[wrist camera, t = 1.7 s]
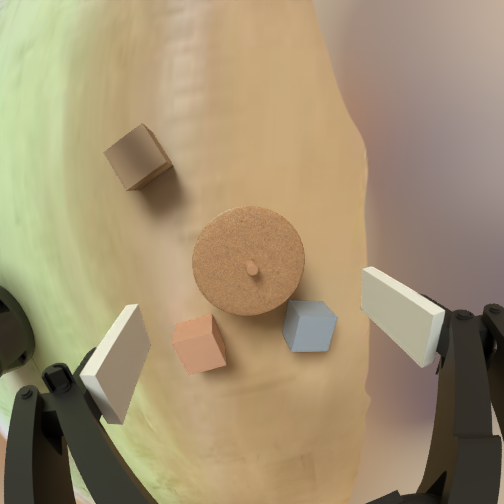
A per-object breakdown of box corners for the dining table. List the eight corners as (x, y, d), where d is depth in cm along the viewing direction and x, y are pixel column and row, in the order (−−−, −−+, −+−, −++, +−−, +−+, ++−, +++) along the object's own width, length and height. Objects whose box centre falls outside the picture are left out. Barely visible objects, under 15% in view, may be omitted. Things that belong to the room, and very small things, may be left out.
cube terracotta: (190, 353, 35) (188, 375, 31) (176, 323, 34) (171, 343, 29) (224, 343, 36) (226, 365, 31) (211, 313, 34) (211, 332, 30)
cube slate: (281, 332, 37) (291, 351, 32) (288, 299, 35) (299, 316, 31) (314, 332, 37) (327, 351, 33) (322, 301, 36) (337, 317, 31)
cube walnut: (139, 190, 30) (126, 190, 25) (118, 156, 28) (103, 152, 23) (173, 165, 30) (166, 161, 25) (152, 132, 28) (142, 123, 23)
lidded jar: (259, 301, 35) (275, 339, 26) (182, 267, 32) (172, 296, 23) (300, 227, 33) (331, 242, 24) (222, 186, 31) (225, 185, 22)
